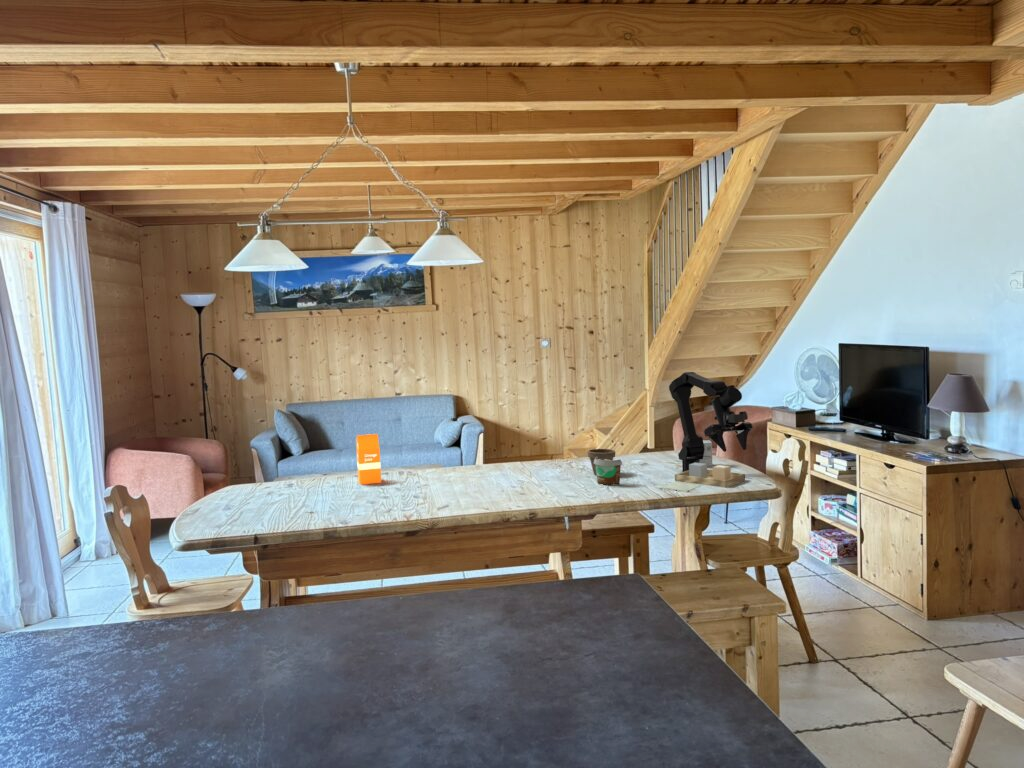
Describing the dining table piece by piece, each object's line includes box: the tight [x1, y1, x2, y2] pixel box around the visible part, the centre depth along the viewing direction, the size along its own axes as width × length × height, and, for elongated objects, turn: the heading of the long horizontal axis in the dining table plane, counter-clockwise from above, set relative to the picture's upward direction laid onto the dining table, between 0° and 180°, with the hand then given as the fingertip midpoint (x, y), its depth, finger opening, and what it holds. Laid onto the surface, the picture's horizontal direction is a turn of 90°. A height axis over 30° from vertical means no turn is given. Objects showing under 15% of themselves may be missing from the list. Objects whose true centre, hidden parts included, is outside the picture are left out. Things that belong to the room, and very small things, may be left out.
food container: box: [594, 457, 623, 486], centre depth 298 cm, size 12×6×10 cm, turn 47°
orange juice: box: [356, 433, 382, 485], centre depth 319 cm, size 8×9×20 cm
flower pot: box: [587, 448, 616, 476], centre depth 318 cm, size 12×11×10 cm
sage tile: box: [660, 481, 702, 493], centre depth 288 cm, size 11×11×1 cm
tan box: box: [711, 464, 732, 480], centre depth 292 cm, size 5×5×6 cm
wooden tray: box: [674, 469, 746, 489], centre depth 296 cm, size 22×16×3 cm
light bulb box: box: [700, 439, 713, 468], centre depth 328 cm, size 11×7×11 cm, turn 84°
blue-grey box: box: [689, 463, 708, 478], centre depth 299 cm, size 5×5×6 cm
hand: (735, 450), depth 282 cm, fingers open, 9 cm apart
